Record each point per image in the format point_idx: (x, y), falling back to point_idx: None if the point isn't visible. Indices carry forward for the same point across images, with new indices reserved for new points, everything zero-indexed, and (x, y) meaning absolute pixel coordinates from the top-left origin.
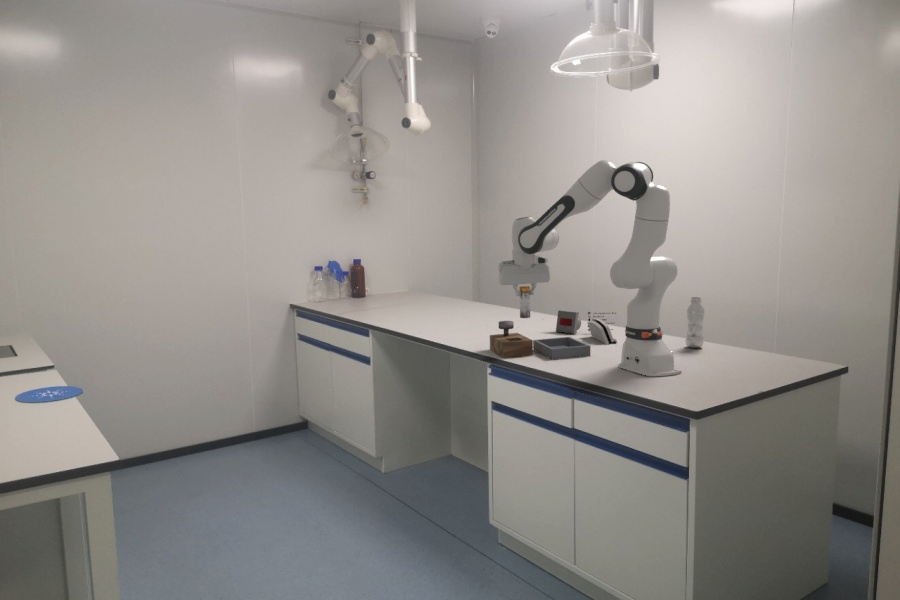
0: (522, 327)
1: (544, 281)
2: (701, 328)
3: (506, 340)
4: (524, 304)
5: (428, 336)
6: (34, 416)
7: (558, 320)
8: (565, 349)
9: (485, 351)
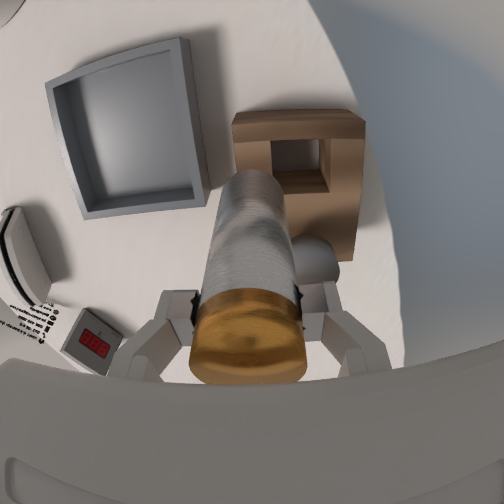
0: (188, 380)
1: (29, 368)
2: None
3: (337, 157)
4: (267, 216)
5: (392, 361)
6: None
7: (110, 356)
8: (126, 51)
9: (362, 215)
